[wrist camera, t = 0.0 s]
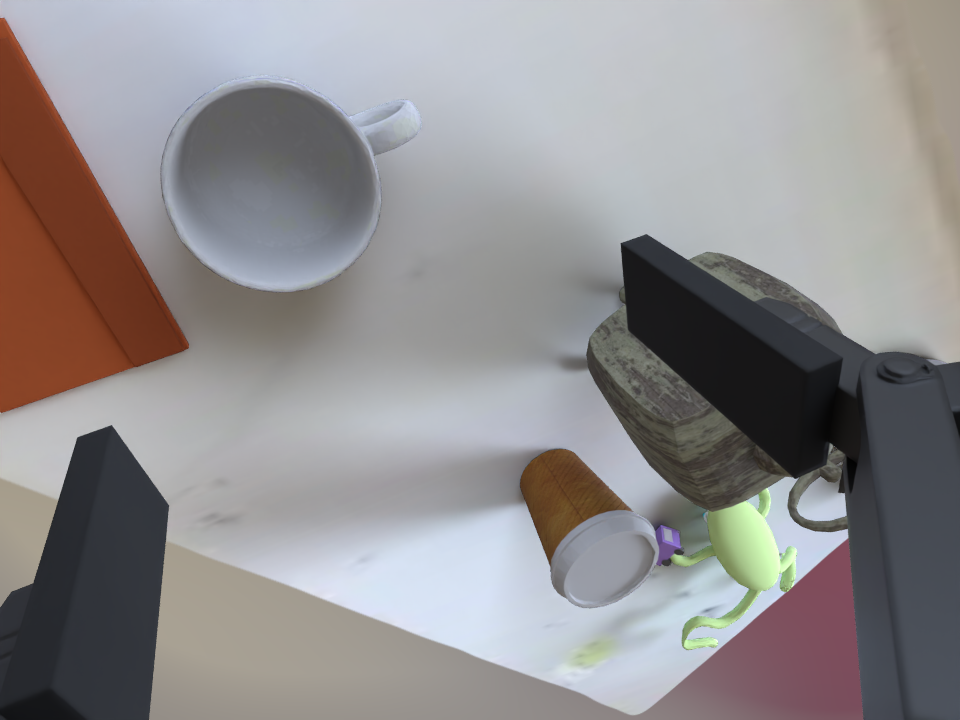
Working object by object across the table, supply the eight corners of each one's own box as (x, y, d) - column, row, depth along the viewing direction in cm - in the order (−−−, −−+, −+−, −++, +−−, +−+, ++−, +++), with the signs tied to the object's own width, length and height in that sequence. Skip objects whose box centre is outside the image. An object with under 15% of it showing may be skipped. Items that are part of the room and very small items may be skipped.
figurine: (667, 634, 84) (693, 672, 79) (626, 512, 68) (655, 551, 63) (788, 565, 85) (819, 598, 80) (774, 430, 69) (813, 462, 65)
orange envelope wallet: (-266, 84, 30) (-280, 87, 29) (4, 17, 32) (-2, 18, 31) (3, 409, 41) (-2, 417, 40) (189, 345, 43) (188, 352, 42)
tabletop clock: (585, 390, 57) (783, 621, 37) (540, 321, 52) (744, 548, 32) (718, 293, 57) (993, 473, 36) (686, 214, 51) (989, 374, 31)
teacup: (217, 264, 41) (217, 320, 35) (134, 88, 35) (115, 115, 28) (422, 201, 43) (457, 242, 37) (378, 25, 37) (411, 37, 31)
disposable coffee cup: (588, 501, 65) (653, 595, 55) (500, 522, 62) (552, 624, 52) (601, 426, 60) (674, 514, 50) (506, 444, 57) (564, 541, 48)
